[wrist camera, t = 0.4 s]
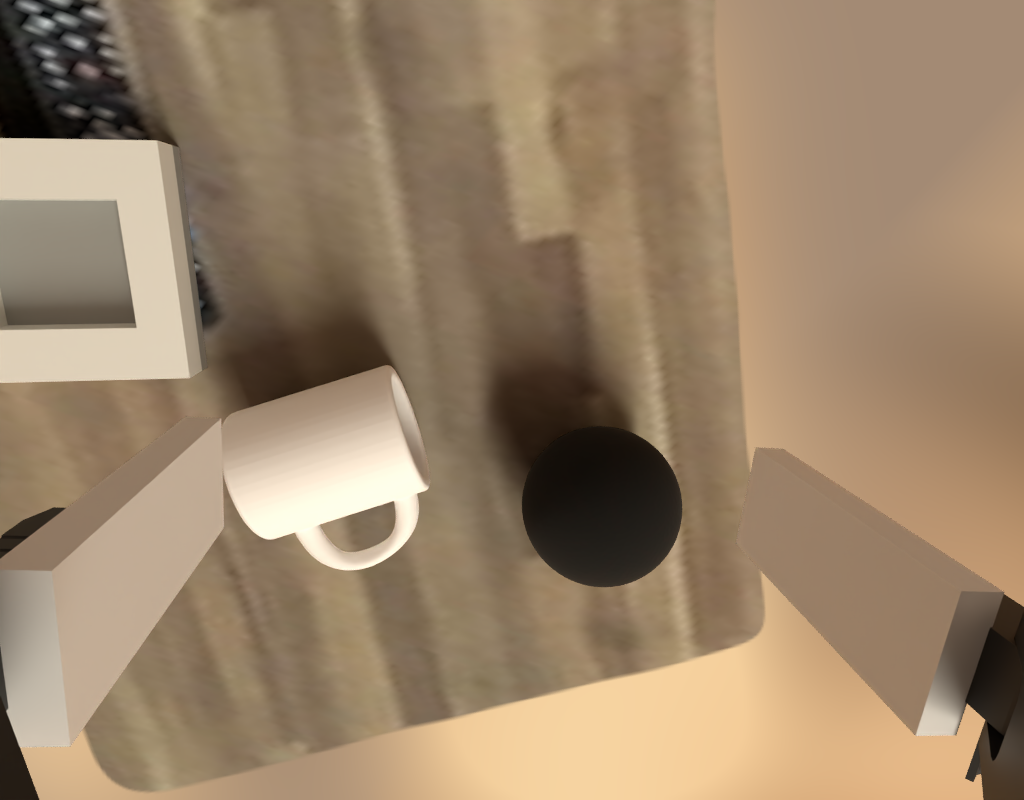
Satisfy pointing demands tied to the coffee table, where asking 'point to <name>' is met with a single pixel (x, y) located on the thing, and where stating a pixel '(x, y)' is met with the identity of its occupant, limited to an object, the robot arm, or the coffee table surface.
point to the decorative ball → (602, 506)
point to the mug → (328, 463)
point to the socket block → (96, 262)
